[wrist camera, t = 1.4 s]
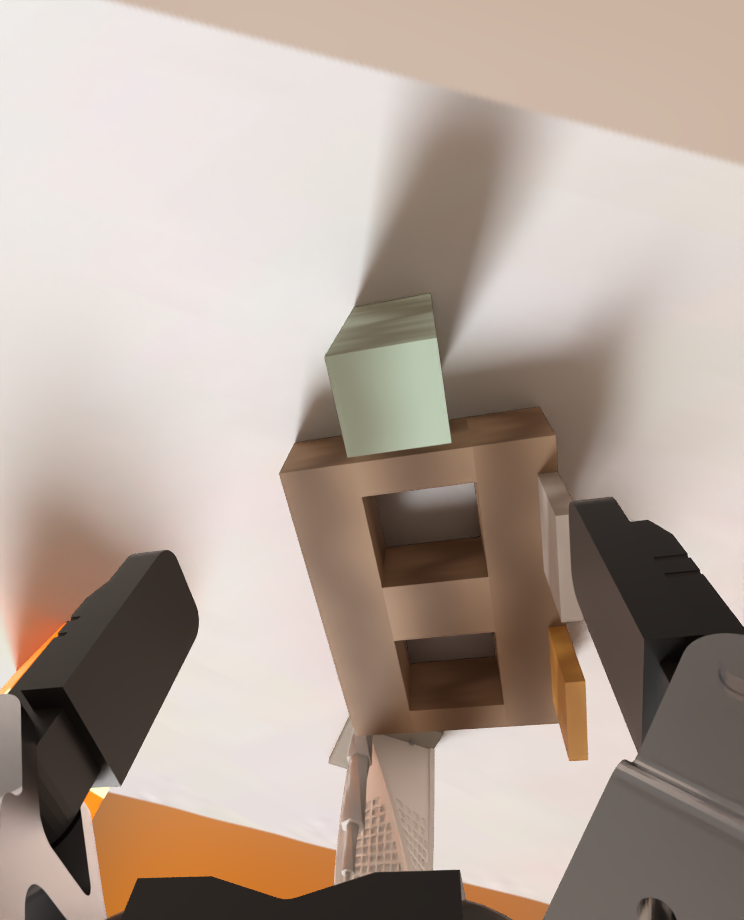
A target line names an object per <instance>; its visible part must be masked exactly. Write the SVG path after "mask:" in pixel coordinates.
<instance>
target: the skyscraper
mask: <svg viewBox="0 0 744 920" xmlns="http://www.w3.org/2000/svg"><path fill="white" fill-rule="evenodd" d="M442 735H443V731H430V732H414V733H398V734H382V735H366V736H355V733H354V729H353V726H352V722H351V719H350V716H349V718H348V720H347V722H346V724H345V726H344V729H343V731H342V733H341V735H340V737H339V739H338V741H337V743H336V745H335V748H334V750H333V752H332V754H331V756H330V758H329V764H332V765H336V766H339V767H342V768H346V769H347V774H346V781H345V787H344V794H343V801H342V808H341V815H340V823H339V832H338V841H337V851H336V863H335V877H334V885H337V884H340V883H343V882H346V881H349V880H352V879H355V878H359V877H362V876H365V875H368V874H371V873H374V872H398V871H433V848H434V748H435V746H436V745H437V743H438V741H439V740H440V738H441V737H442Z"/></svg>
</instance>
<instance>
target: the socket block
mask: <svg viewBox="0 0 744 920" xmlns="http://www.w3.org/2000/svg"><path fill="white" fill-rule="evenodd" d="M448 421H449V428H450V436H451V443H448V444H441V445H434V446H426V447H419V448H412V449H405V450H398V451H391V452H384V453H377V454H370V455H363V456H356V457H349V458H348V457H347V453H346V449H345V444H344V440H343V436H337V437H330V438H323V439H317V440H310V441H303V442H296V443H294V445H293V447H292V449H291V451H290V453H289V455H288V457H287V459H286V461H285V463H284V465H283V467H282V469H281V471H280V473H279V475H280V479H281V482H282V485H283V489H284V492H285V496H286V499H287V503H288V506H289V510H290V513H291V516H292V520H293V523H294V527H295V530H296V534H297V537H298V540H299V544H300V547H301V551H302V554H303V558H304V561H305V564H306V568H307V571H308V575H309V578H310V582H311V585H312V588H313V592H314V595H315V599H316V602H317V606H318V609H319V612H320V616H321V619H322V623H323V626H324V630H325V633H326V636H327V640H328V643H329V647H330V650H331V654H332V657H333V661H334V664H335V667H336V671H337V674H338V678H339V681H340V685H341V688H342V691H343V695H344V698H345V702H346V705H347V709H348V712H349V715H350V719H351V722H352V726H353V729H354V733H355V736H366V735H382V734H398V733H414V732H430V731H445V730H461V729H477V728H493V727H508V726H524V725H540V724H556V723H559V725H560V728H561V732H562V736H563V739H564V743H565V747H566V751H567V754H568V758H569V761H580V760H588V744H587V715H586V687H585V679H584V676H583V673H582V670H581V668H580V665H579V662H578V659H577V656H576V653H575V650H574V647H573V645H572V642H571V639H570V636H569V633H568V630H567V627H566V622H572V621H583V614H582V612H581V609H580V607H579V604H578V602H577V599H576V595H575V591H574V586H573V581H572V574H571V557H570V534H569V504H570V502H572V501H573V500H572V498H571V496H570V494H569V492H568V490H567V488H566V486H565V484H564V482H563V480H562V479H561V477H560V475H559V473H558V464H557V445H556V434H555V432H554V431H553V429H552V427H551V426H550V424H549V422H548V421H547V419H546V417H545V415H544V414H543V412H542V410H541V409H540V407H533V408H527V409H520V410H513V411H506V412H499V413H493V414H486V415H479V416H472V417H466V418H459V419H452V420H448ZM466 483H474V486H475V494H476V502H477V510H478V518H479V526H480V534H481V537H474V538H465V539H457V540H448V541H439V542H431V543H422V544H413V545H405V546H396V547H387V548H386V547H385V542H384V537H383V532H382V528H381V523H380V518H379V514H378V509H377V504H376V500H375V495H381V494H389V493H397V492H405V491H412V490H420V489H428V488H435V487H443V486H451V485H458V484H466ZM490 632H493V638H494V646H495V654H496V657H485V658H473V659H461V660H449V661H437V662H425V663H412V664H410V659H409V654H408V650H407V645H406V640H411V639H422V638H434V637H445V636H456V635H467V634H479V633H490Z"/></svg>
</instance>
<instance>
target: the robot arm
mask: <svg viewBox="0 0 744 920" xmlns="http://www.w3.org/2000/svg"><path fill="white" fill-rule="evenodd" d="M569 534H570V557H571V574H572V581H573V586H574V591H575V595H576V599H577V602H578V604H579V607H580V609H581V612H582V614H583V617H584V619H585V622H586V624H587V627H588V629H589V632H590V634H591V637H592V639H593V642H594V644H595V647H596V649H597V652H598V654H599V657H600V659H601V662H602V664H603V667H604V669H605V672H606V674H607V677H608V679H609V682H610V684H611V687H612V689H613V692H614V694H615V697H616V699H617V702H618V704H619V707H620V709H621V712H622V714H623V717H624V719H625V722H626V724H627V727H628V729H629V732H630V734H631V737H632V739H633V742H634V744H635V747H636V749H637V752H638V755H637V757H636V758H635V760H634V761H633V762H630V761H627V760H622V761H621V762H620V763H619V764H618V766H617V767H616V768H615V770H614V772H613V773H612V775H611V777H610V779H609V781H608V783H607V785H606V788H605V790H604V792H603V794H602V796H601V798H600V800H599V802H598V804H597V806H596V809H595V811H594V813H593V815H592V817H591V819H590V821H589V823H588V825H587V828H586V830H585V832H584V834H583V836H582V838H581V840H580V842H579V844H578V846H577V849H576V851H575V853H574V855H573V857H572V859H571V861H570V863H569V865H568V867H567V870H566V872H565V874H564V876H563V878H562V880H561V882H560V884H559V886H558V889H557V891H556V893H555V895H554V897H553V899H552V901H551V903H550V905H549V908H548V910H547V912H546V914H545V916H544V918H543V920H744V627H743V626H742V624H741V623H740V622H739V620H738V619H737V618H736V616H735V615H734V614H733V613H732V611H731V610H730V609H729V607H728V606H727V605H726V603H725V602H724V601H723V599H722V598H721V597H720V596H719V594H718V593H717V592H716V590H715V589H714V588H713V586H712V585H711V584H710V583H709V581H708V580H707V579H706V577H705V576H704V575H703V574H701V573H700V569H699V568H698V567H697V566H696V564H695V563H694V562H693V560H692V559H691V558H688V555H687V552H686V551H685V550H684V549H683V547H682V546H681V545H680V543H679V542H678V541H677V539H676V538H675V537H674V535H673V534H671V533H669V532H668V531H666V530H664V529H663V528H661V527H659V526H658V525H656V524H654V523H653V522H651V521H649V520H642V521H634V522H630V521H629V520H628V518H627V517H626V515H625V514H624V512H623V511H622V509H621V508H620V506H619V505H618V503H617V502H616V500H615V499H614V498H613V497H605V498H597V499H589V500H581V501H572V502H570V504H569ZM198 627H199V616H198V610H197V607H196V604H195V602H194V599H193V597H192V594H191V592H190V590H189V587H188V585H187V582H186V580H185V577H184V575H183V572H182V570H181V568H180V565H179V563H178V560H177V558H176V556H175V555H174V554H173V553H172V552H171V551H169V550H162V551H154V552H146V553H138V554H132V555H131V556H129V557H128V558H127V559H126V561H125V562H124V563H123V564H122V565H121V567H120V568H119V569H118V570H117V572H116V573H115V574H114V575H113V577H112V578H111V579H110V580H109V581H108V582H107V583H106V584H104V585H103V586H102V587H100V588H99V589H98V590H96V591H95V592H94V593H93V594H91V595H90V596H89V597H87V598H86V599H85V601H84V602H83V603H82V604H81V605H80V607H79V608H78V609H77V610H76V611H75V613H74V614H73V615H72V616H71V621H67V622H66V624H65V625H64V626H63V627H62V628H61V630H60V631H59V632H58V637H54V638H53V639H52V640H51V642H50V643H49V644H48V645H47V646H46V648H45V649H44V650H43V651H42V652H41V654H40V655H39V656H38V657H37V658H36V660H35V661H34V662H33V663H32V664H31V666H30V667H29V668H28V669H27V670H26V672H25V673H24V674H23V675H22V677H21V678H20V679H19V680H18V681H17V683H16V684H15V685H14V686H13V687H12V689H11V690H10V691H9V692H8V693H7V694H0V920H512V919H511V918H509V917H507V916H506V915H504V914H502V913H499V912H497V911H495V910H493V909H491V908H488V907H486V906H484V905H481V904H478V903H475V902H471V901H468V900H466V898H465V893H464V888H463V883H462V878H461V873H460V870H436V871H398V872H374V873H371V874H368V875H365V876H362V877H359V878H355V879H352V880H349V881H346V882H343V883H340V884H337V885H334V886H331V887H328V888H325V889H322V890H318V891H316V892H312V893H309V894H306V895H303V896H300V897H297V898H293V899H280V898H276V897H273V896H270V895H267V894H264V893H261V892H258V891H255V890H252V889H248V888H245V887H242V886H239V885H236V884H233V883H230V882H227V881H224V880H221V879H218V878H215V877H212V876H211V877H210V876H209V877H172V878H138V879H137V881H136V884H135V886H134V889H133V891H132V893H131V896H130V898H129V901H128V903H127V906H126V908H125V911H123V912H120V913H118V914H115V915H113V916H111V917H109V918H107V915H106V910H105V906H104V900H103V893H102V887H101V879H100V873H99V866H98V859H97V853H96V846H95V839H94V832H93V826H92V819H91V814H90V810H89V809H88V807H87V805H86V804H85V802H84V800H85V798H86V796H87V795H88V793H89V791H90V789H91V788H100V787H118V786H121V785H122V783H123V781H124V779H125V777H126V775H127V773H128V771H129V769H130V767H131V766H132V764H133V762H134V760H135V758H136V756H137V754H138V752H139V750H140V748H141V746H142V744H143V742H144V740H145V738H146V736H147V734H148V732H149V730H150V728H151V726H152V724H153V722H154V720H155V718H156V716H157V714H158V712H159V710H160V708H161V706H162V704H163V702H164V700H165V698H166V696H167V694H168V692H169V690H170V688H171V686H172V684H173V682H174V680H175V678H176V676H177V674H178V672H179V670H180V668H181V666H182V665H183V663H184V661H185V659H186V657H187V655H188V653H189V651H190V649H191V647H192V645H193V643H194V641H195V639H196V636H197V633H198Z"/></svg>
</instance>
